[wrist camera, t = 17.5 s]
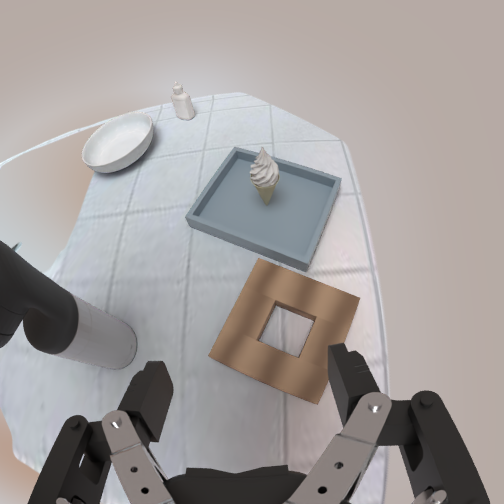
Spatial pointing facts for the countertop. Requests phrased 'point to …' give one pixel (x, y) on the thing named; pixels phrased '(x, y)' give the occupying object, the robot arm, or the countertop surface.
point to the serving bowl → (118, 142)
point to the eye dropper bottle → (182, 103)
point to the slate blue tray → (267, 209)
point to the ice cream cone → (264, 175)
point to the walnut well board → (257, 315)
